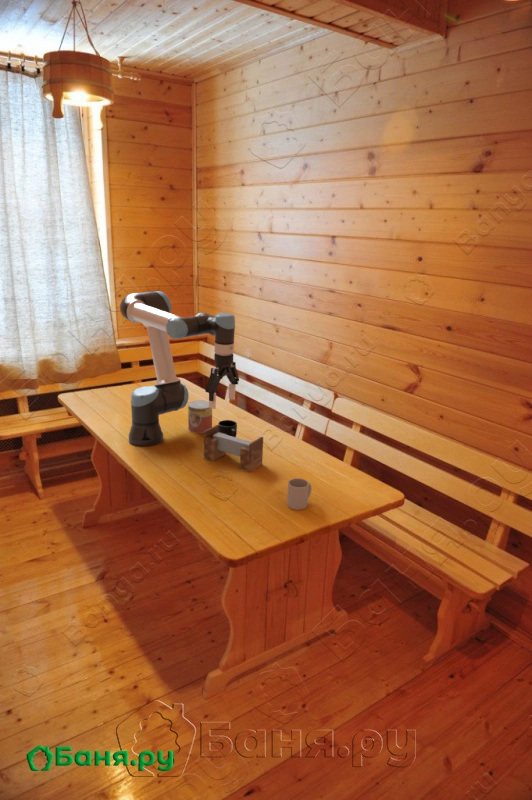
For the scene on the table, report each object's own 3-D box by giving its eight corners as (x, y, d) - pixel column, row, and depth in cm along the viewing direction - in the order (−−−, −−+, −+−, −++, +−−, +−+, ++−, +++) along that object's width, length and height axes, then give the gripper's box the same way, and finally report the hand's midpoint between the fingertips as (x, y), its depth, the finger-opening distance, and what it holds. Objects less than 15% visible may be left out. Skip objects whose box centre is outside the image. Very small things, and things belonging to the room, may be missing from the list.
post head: (204, 457, 238) (204, 431, 234) (216, 450, 246) (216, 424, 242) (213, 460, 236) (213, 434, 232) (226, 453, 243) (226, 427, 239)
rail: (212, 448, 238) (212, 435, 236) (217, 445, 241) (217, 432, 239) (250, 459, 229) (251, 445, 227) (255, 456, 232) (256, 443, 230)
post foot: (239, 468, 230) (240, 441, 226) (251, 461, 237) (252, 434, 233) (250, 472, 227) (251, 444, 223) (262, 464, 235) (263, 437, 231)
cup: (282, 504, 204) (284, 482, 201) (302, 496, 210) (304, 474, 207) (296, 512, 198) (298, 489, 196) (317, 504, 205) (318, 481, 202)
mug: (225, 451, 246) (225, 430, 242) (215, 441, 256) (215, 421, 253) (243, 448, 249) (243, 428, 246) (232, 438, 259) (232, 419, 256)
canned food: (183, 430, 266) (183, 406, 263) (195, 422, 276) (195, 399, 273) (205, 434, 263) (205, 410, 259) (216, 426, 273) (216, 402, 269)
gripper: (213, 361, 213) (211, 414, 221) (249, 348, 234) (246, 397, 241) (197, 357, 217) (195, 409, 224) (233, 345, 237) (231, 393, 245)
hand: (222, 403), depth 233 cm, fingers open, 13 cm apart
